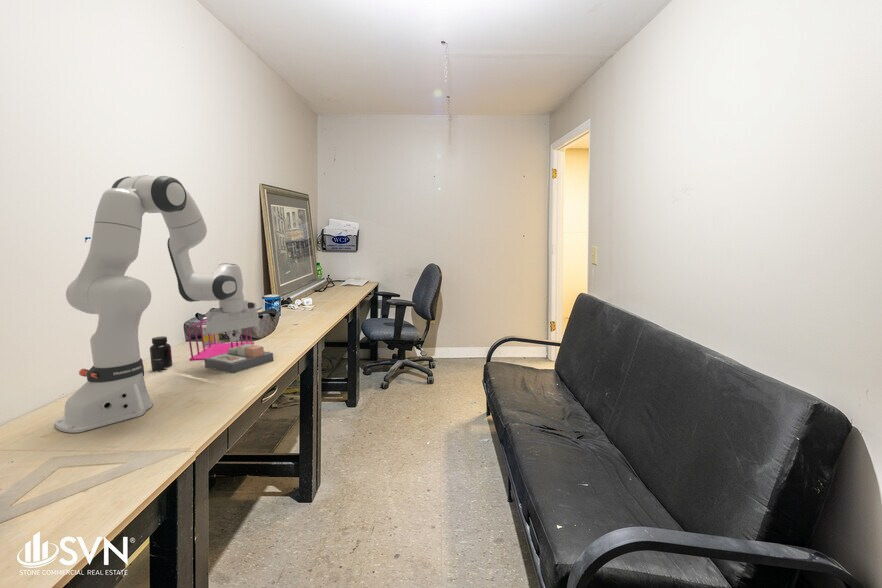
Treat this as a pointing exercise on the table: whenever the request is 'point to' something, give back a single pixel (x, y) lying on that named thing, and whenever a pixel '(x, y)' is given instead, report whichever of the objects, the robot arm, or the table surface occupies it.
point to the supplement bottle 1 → (160, 354)
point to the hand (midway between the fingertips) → (234, 341)
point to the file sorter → (214, 348)
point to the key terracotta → (254, 351)
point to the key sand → (243, 349)
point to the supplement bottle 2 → (205, 336)
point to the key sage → (233, 350)
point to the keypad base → (236, 362)
